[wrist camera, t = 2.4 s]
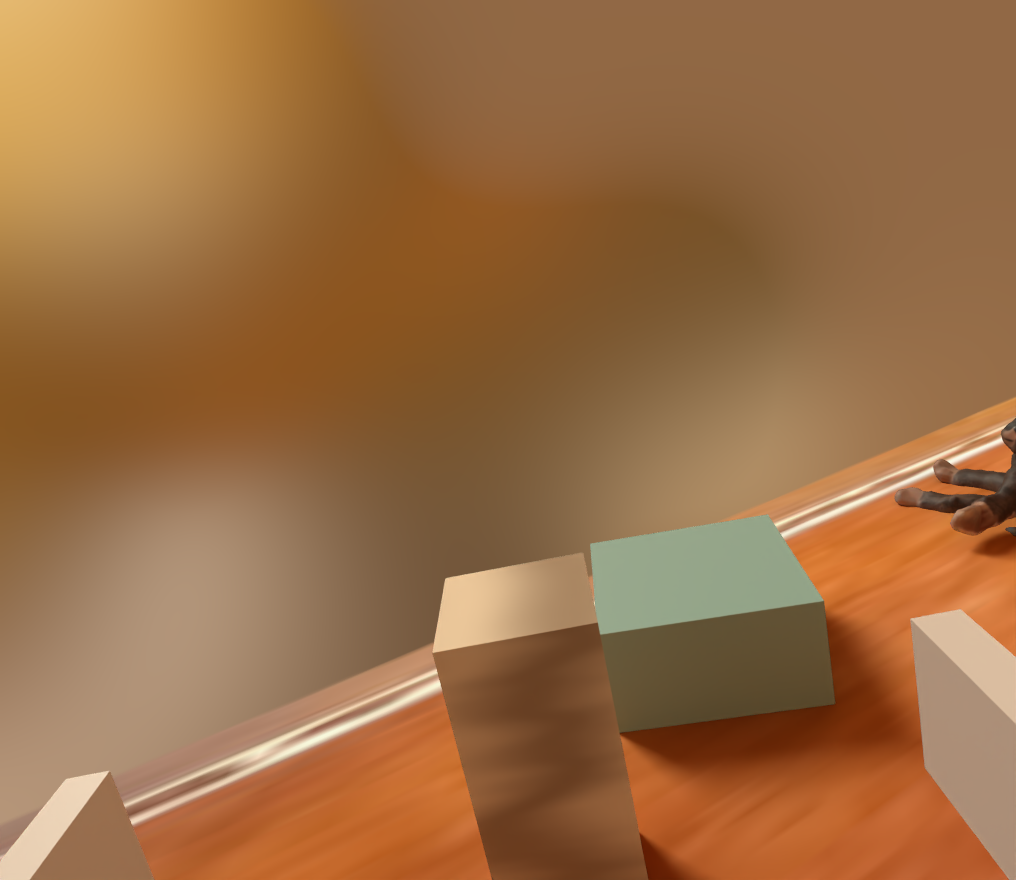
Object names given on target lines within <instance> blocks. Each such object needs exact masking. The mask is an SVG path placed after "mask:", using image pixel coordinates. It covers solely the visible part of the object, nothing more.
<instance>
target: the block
mask: <svg viewBox="0 0 1016 880" xmlns="http://www.w3.org/2000/svg"><path fill="white" fill-rule="evenodd" d="M433 657H434V661H435V664H436V668H437V672H438V676H439V680H440V683H441V687H442V691H443V695H444V699H445V702H446V706H447V710H448V714H449V717H450V721H451V725H452V729H453V733H454V736H455V740H456V744H457V748H458V752H459V755H460V759H461V763H462V767H463V771H464V774H465V778H466V782H467V786H468V790H469V793H470V797H471V801H472V805H473V808H474V812H475V816H476V820H477V824H478V827H479V831H480V835H481V839H482V843H483V846H484V850H485V854H486V858H487V862H488V865H489V869H490V873H491V877H492V880H648V875H647V870H646V865H645V860H644V855H643V850H642V845H641V839H640V834H639V829H638V824H637V819H636V814H635V809H634V804H633V799H632V794H631V789H630V784H629V778H628V773H627V768H626V763H625V758H624V753H623V748H622V743H621V738H620V733H619V728H618V723H617V717H616V712H615V707H614V702H613V697H612V692H611V687H610V682H609V677H608V672H607V667H606V662H605V656H604V651H603V646H602V641H601V636H600V631H599V626H598V621H597V616H596V612H595V607H594V602H593V597H592V593H591V588H590V583H589V578H588V574H587V569H586V564H585V560H584V555H583V553H577V554H572V555H567V556H561V557H556V558H551V559H546V560H540V561H535V562H530V563H524V564H519V565H514V566H509V567H503V568H498V569H493V570H487V571H482V572H477V573H472V574H466V575H461V576H456V577H451V578H446V579H445V584H444V590H443V596H442V602H441V608H440V613H439V619H438V625H437V630H436V636H435V641H434V647H433Z"/></svg>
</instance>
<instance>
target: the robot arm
mask: <svg viewBox="0 0 1016 880" xmlns="http://www.w3.org/2000/svg"><path fill="white" fill-rule="evenodd" d="M911 629H912V640H913V650H914V660H915V671H916V681H917V692H918V702H919V712H920V723H921V733H922V744H923V754H924V764H925V769H926V770H927V771H928V773H929V774H930V775H931V777H932V778H933V779H934V781H935V782H936V783H937V784H938V786H939V787H940V788H941V790H942V791H943V792H944V794H945V795H946V796H947V798H948V799H949V800H950V802H951V803H952V804H953V806H954V807H955V808H956V810H957V811H958V812H959V814H960V815H961V816H962V818H963V819H964V820H965V822H966V823H967V824H968V826H969V827H970V828H971V830H972V831H973V832H974V834H975V835H976V836H977V837H978V839H979V840H980V841H981V843H982V844H983V845H984V847H985V848H986V849H987V851H988V852H989V853H990V855H991V856H992V857H993V859H994V860H995V861H996V863H997V864H998V865H999V867H1000V868H1001V869H1002V871H1003V872H1004V873H1005V875H1006V876H1007V877H1008V879H1009V880H1016V657H1015V656H1014V655H1013V654H1012V653H1010V652H1009V651H1008V650H1007V649H1006V648H1005V647H1004V646H1002V645H1001V644H1000V643H999V642H998V641H997V640H995V639H994V638H993V637H992V636H991V635H990V634H989V633H987V632H986V631H985V630H984V629H983V628H982V627H980V626H979V625H978V624H977V623H976V622H975V621H973V620H972V619H971V618H970V617H969V616H968V615H967V614H965V613H964V612H963V611H962V610H961V609H959V610H954V611H949V612H943V613H938V614H933V615H928V616H922V617H917V618H912V619H911ZM0 880H154V878H153V875H152V873H151V870H150V868H149V865H148V863H147V861H146V858H145V856H144V853H143V851H142V848H141V846H140V843H139V841H138V839H137V836H136V834H135V831H134V829H133V826H132V824H131V821H130V819H129V817H128V814H127V812H126V809H125V807H124V804H123V802H122V800H121V797H120V795H119V792H118V790H117V787H116V785H115V782H114V780H113V778H112V775H111V773H110V771H106V772H101V773H95V774H90V775H85V776H80V777H74V778H69V779H66V780H65V781H64V782H63V784H62V785H61V786H60V787H59V789H58V790H57V791H56V792H55V793H54V795H53V796H52V797H51V799H50V800H49V801H48V802H47V803H46V805H45V806H44V807H43V808H42V810H41V811H40V812H39V813H38V815H37V816H36V817H35V818H34V820H33V821H32V822H31V823H30V825H29V826H28V827H27V828H26V830H25V831H24V832H23V833H22V835H21V836H20V837H19V838H18V840H17V841H16V842H15V843H14V845H13V846H12V847H11V848H10V850H9V851H8V852H7V853H6V855H5V856H4V857H3V858H2V860H1V861H0Z"/></svg>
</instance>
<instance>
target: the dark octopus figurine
mask: <svg viewBox="0 0 1016 880" xmlns="http://www.w3.org/2000/svg"><path fill="white" fill-rule="evenodd" d="M1001 435H1002V439H1003V442H1004V443H1005V444H1006V445H1007V446H1008V447H1009V448H1010V449H1011V451H1012V452H1013V453H1014V454H1013V455H1012V460H1011V468H1010V469H1009V470H1008V471H1007V472H1006V473H1002V472H994V471H985V470H971V469H963V470H958V469H956V468H955V467H954V466H953V465H951V464H950V463H949V462H947V461H945V460H943V459H940V460H937V461H936V462H935V463H934V466H933V468H934V472H935V475H936V477H937V478H938V479H939V480H940V481H942V482H944V483H949V484H953V485H958V486H968V487H976V488H982V489H986V490H990V491H994V492H996V493H995V494H992V495H988V496H984V495H977V494H963V495H962V494H956V495H945V494H940V493H936V492H932V491H930V492H926V491H922V490H920V489H918V488H913V487H911V488H906V489H901V490H898V491H897V492H896V494H895V501H896V502H897V503H898V504H900V505H903V506H914V507H920V508H923V509H928V510H935V511H939V512H945V513H955V514H954V516H953V518H952V520H951V523H950V524H951V526H952V528H953V529H954V530H956V531H959V532H962V533H964V534H968V535H972V536H974V535H978V534H980V533H982V532H983V531H984V530H986V529H988V528H991V527H995V526H998V525H1000V524H1001V523H1003V522H1004V521H1005V520H1007V519H1012V518H1014V517H1016V418H1015V419H1014V420H1013V421H1012V422H1011V423H1009V424H1008V425H1007V426H1006V427H1005V428H1004V429H1003V430H1002V431H1001ZM1005 530H1006V531H1008V532H1010V533H1012V534H1013V536H1016V527H1008V528H1006V529H1005Z"/></svg>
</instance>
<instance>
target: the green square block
mask: <svg viewBox="0 0 1016 880" xmlns="http://www.w3.org/2000/svg"><path fill="white" fill-rule="evenodd" d="M590 545H591V559H592V571H593V584H594V596H595V608H596V616H597V621H598V626H599V631H600V636H601V641H602V646H603V651H604V656H605V662H606V667H607V672H608V677H609V682H610V687H611V692H612V697H613V702H614V707H615V712H616V717H617V723H618V728H619V733H622V732H630V731H637V730H645V729H652V728H660V727H667V726H675V725H682V724H690V723H697V722H705V721H712V720H720V719H727V718H735V717H742V716H750V715H757V714H765V713H772V712H780V711H787V710H795V709H802V708H810V707H817V706H825V705H832V704H835V696H834V687H833V678H832V669H831V660H830V651H829V642H828V633H827V624H826V615H825V606H824V600H823V599H822V597H821V596H820V594H819V593H818V591H817V589H816V588H815V586H814V585H813V583H812V582H811V580H810V579H809V577H808V576H807V574H806V573H805V571H804V570H803V568H802V566H801V565H800V563H799V562H798V560H797V559H796V557H795V556H794V554H793V553H792V551H791V550H790V548H789V546H788V545H787V543H786V542H785V540H784V539H783V537H782V536H781V534H780V533H779V531H778V530H777V528H776V527H775V525H774V523H773V522H772V520H771V519H770V517H769V516H768V515H762V516H756V517H750V518H744V519H738V520H732V521H726V522H720V523H714V524H708V525H702V526H696V527H689V528H683V529H677V530H671V531H665V532H659V533H653V534H647V535H641V536H635V537H629V538H623V539H617V540H611V541H605V542H598V543H593V544H590Z"/></svg>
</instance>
